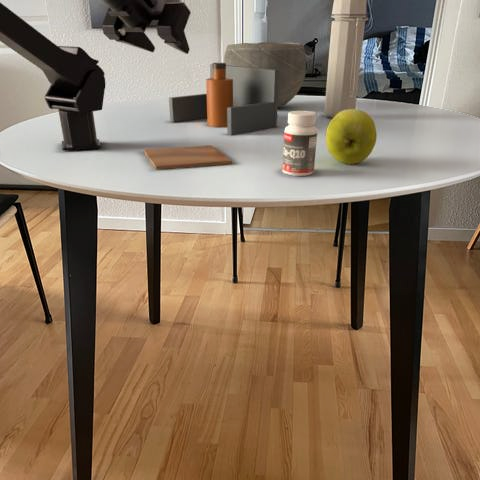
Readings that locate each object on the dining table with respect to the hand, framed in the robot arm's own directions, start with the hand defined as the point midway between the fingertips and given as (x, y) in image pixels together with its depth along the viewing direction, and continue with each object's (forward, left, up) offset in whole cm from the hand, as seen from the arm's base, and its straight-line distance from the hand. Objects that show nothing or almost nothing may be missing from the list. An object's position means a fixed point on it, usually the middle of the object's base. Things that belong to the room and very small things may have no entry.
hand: (170, 50), depth 100 cm
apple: (-40, -20, -15) cm, 47 cm away
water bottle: (0, -40, -15) cm, 42 cm away
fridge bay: (-1, -10, -14) cm, 17 cm away
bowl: (+20, -28, -15) cm, 37 cm away
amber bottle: (-1, -10, -14) cm, 17 cm away
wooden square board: (-29, +4, -14) cm, 33 cm away
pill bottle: (-43, -10, -15) cm, 46 cm away
